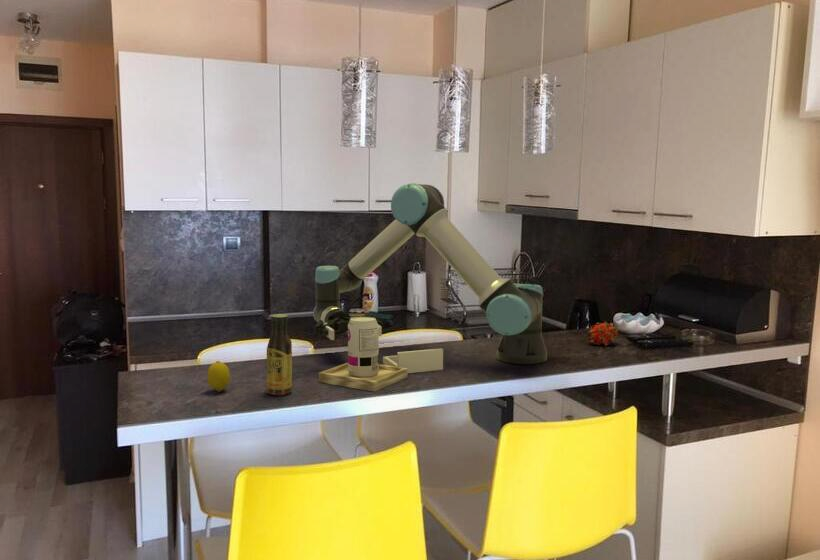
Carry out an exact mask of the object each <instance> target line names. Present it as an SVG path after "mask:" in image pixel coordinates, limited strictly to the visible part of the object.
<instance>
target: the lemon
mask: <svg viewBox="0 0 820 560" xmlns="http://www.w3.org/2000/svg"><path fill="white" fill-rule="evenodd" d="M206 376H207V377H206V379H207V384H208V385H209V387H210V389H213V390H215V391H217V392H218V393H221V392H222V390H223V389H226V388H227V387H228V385H229V384H230V379H231V372H230V369H229V367H228V366H227V365H226V364H225V363H224V362H221V361H220V360H217V361H216V362H214V363H212V364H211V365H210V366H209V367H208V370H207V374H206ZM220 391H221V392H220Z"/></svg>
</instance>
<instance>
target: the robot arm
mask: <svg viewBox="0 0 820 560" xmlns="http://www.w3.org/2000/svg"><path fill="white" fill-rule="evenodd" d="M390 210H391V211H390V212H391V213H392V216H393V217H394V220H393V221H392V222H391V223H390V224H388V226H386V228H384V229H383V230H382V231H381V232H379V234H378V235H377V236H376V237H374V238H373V239H372V240H371V241H370V242H369V243H368V244H367V245H365V247H364V248H362V249H361V250H360V251H359V252H358V253H356V255H355V256H354V257H353V258H352V259H350V260H349V261H348V262H347V263H346V264H345V265H344V266H343V267H342V268H341V269H340V268H339V266H336V265H319V266H317V267H316V268H315V277H314V283H315V284H314V285H315V287H314V289H315V306H314V308H313V311H312V314H313V315H312V317H313V318H314V319H313V320H315V322H316V324H315V325H314V326H313V335H314V336H315V337H316V336H318V335H320V338H321V339H324V338H328V339H329V340H331V341H335V335H343V334H345V333H348V323H349V321H350V319H351V318H352V317H351V316H350V313H348V312H347V311H345V310H344V309H342V308H341V307H340V301H341V300H340V298H341V296H340V294H341V293H346V292H352V291H354V290H355V289H359V287H361V285H362V282H363V280H364V279H365V278H367V277H368V276H369V275H370V274H371V273H372V272H373V271H374V270H376V269H377V268H378V267H380V266H381V264H383V263H384V262H385V261H387V259H388V258H389V257H390V256H391V255H393V254H394V253H395V252H396V251H397V250H399V248H401V247H402V246H403V245H404V244H405V243H406V242H407V241H408V240H410V239H411V238H412V237H413V236H414V235H415V236H416V237H418V238H419V237H421V238H425V239H426V241H428V242H429V243H430V245H431V246H432V247H433V248H434V249H435V250H436V251H437V252H438V254H439V255H440V256H441V257H442V259H444V261H446V263H447V264H448V265H449V266H450V267H451V269H453V270H454V272H455V273H456V274H457V275H458V276H459V277H460V278H461V280H462V281H463V282H464V283H465V284H466V285H467V286H468V288H469V289H470V290H471V291H472V292H473V293H474V294H475V296H476V297H478V307H479V308H480V309H481V310H482V312H483V313H485V315H486V320H487V323H488V325H489V326H490V328H491V329H492V330H493V331H494V332H496V333H498V334H500V335H501V338H500V341H499V344H498V347H497V349H496V358H497V359H496V360H499V361H501V362H503V363H508V364H514V365H515V364H516V365H534V364H535V365H536V364H542V363H544V362H547V361H548V352H547V348H546V345H545V342H544V338H543V334H542V333H543V332H542V331H543V329H542V328H543V327H542V325H543V297H544V292H543V287H542V286H541V285H539V284H530V283H529V284H528V283H513V281H512V280H511V279H510V278H502V277H501V275H499V273H497V271H496V270H495V269H494V268H493V267H492V266H491V265H490V264H489V262H488V261H487V260H486V259H485V258H484V257H483V256H482V255H481V253H480V252H478V250H477V249H476V248H475V247H474V246H473V245H472V244H471V242H469V240H468V239H467V238H466V237H465V236H464V234H462V233H461V232H460V231H459V229H458V228H457V227H456V225H454V224H453V223H452V221H451V220H449V218H448V217H447V213H448V209H447V208H446V207H445V199H444V196H443V194H442V192H441V191H440V190H439V189H438V188H437V187H435V186H434V185H432V184H419V183H411V182H410V183H407V184H403V185H401V186H399V188H398V189H396V190H395V191H394V193H393V195H392V196H391V201H390ZM376 321H377V323H378V328H379V337H382V334H383V333H382V331H383V321H381V320H380V321H379V320H378V319H376Z"/></svg>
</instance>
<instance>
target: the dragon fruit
mask: <svg viewBox="0 0 820 560" xmlns="http://www.w3.org/2000/svg"><path fill="white" fill-rule="evenodd" d="M589 329H590V330H589V331H588V333H587V334H586V337H587V338H588V339H589V340H590V343H591V345H593V346H594V345H595V346H600V345H603V344H604V347H606V346H609V345H612V342H616V341H618V340H619V338H617V337H619V328H618V327H617V326H615V324H614V323H613V322H610V323H608V322H607V321H606V320H603V323H600V322H596V323H595V324H594V325H591V326H590V328H589Z"/></svg>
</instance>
